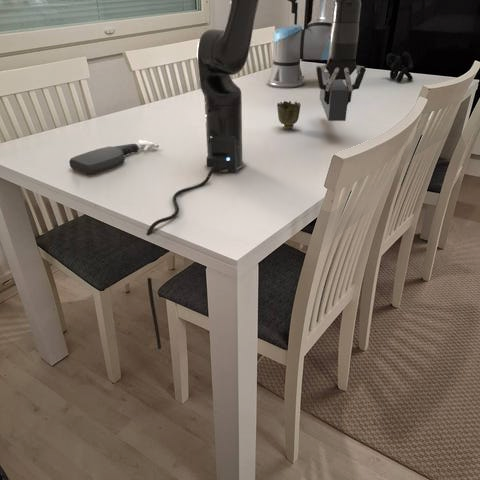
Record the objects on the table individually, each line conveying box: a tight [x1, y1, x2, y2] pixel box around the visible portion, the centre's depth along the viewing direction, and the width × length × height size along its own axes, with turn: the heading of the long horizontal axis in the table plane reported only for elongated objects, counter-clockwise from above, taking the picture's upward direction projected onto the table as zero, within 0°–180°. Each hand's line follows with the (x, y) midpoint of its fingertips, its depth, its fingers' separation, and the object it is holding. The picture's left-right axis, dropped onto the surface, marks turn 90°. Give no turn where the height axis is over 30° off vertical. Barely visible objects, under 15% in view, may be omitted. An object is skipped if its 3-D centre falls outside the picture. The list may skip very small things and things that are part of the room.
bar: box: [319, 71, 349, 122], centre depth 137 cm, size 26×5×9 cm, turn 177°
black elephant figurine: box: [385, 51, 414, 83], centre depth 198 cm, size 11×10×15 cm
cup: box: [276, 100, 302, 131], centre depth 143 cm, size 8×7×8 cm
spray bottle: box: [68, 139, 160, 177], centre depth 124 cm, size 3×11×24 cm
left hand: (336, 103), depth 129 cm, fingers closed on bar, 5 cm apart
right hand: (315, 24), depth 152 cm, fingers open, 13 cm apart
